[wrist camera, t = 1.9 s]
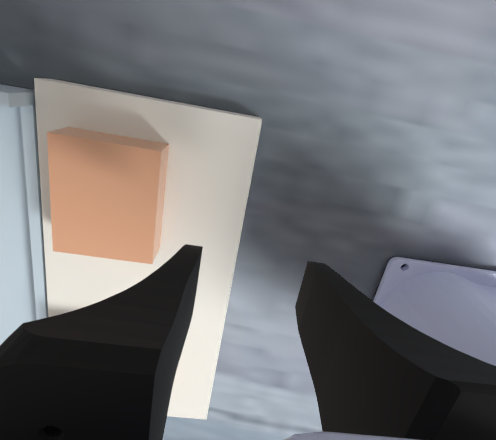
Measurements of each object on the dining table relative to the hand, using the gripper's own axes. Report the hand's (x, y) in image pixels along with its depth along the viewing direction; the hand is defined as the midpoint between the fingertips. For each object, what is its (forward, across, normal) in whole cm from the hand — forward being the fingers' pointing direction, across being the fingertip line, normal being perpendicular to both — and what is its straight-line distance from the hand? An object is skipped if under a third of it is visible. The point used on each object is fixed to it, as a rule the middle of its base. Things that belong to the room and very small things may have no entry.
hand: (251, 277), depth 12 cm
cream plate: (+8, +6, +6) cm, 12 cm away
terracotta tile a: (+7, +7, 0) cm, 10 cm away
